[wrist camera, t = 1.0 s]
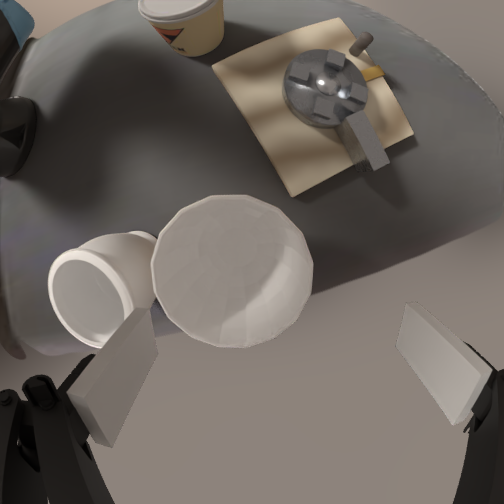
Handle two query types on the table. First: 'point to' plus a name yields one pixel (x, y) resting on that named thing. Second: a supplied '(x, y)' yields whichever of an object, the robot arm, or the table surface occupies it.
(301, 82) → the grey notched machine part
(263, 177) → the table surface
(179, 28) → the coffee cup
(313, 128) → the housing plate
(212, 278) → the cup
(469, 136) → the table surface
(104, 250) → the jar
